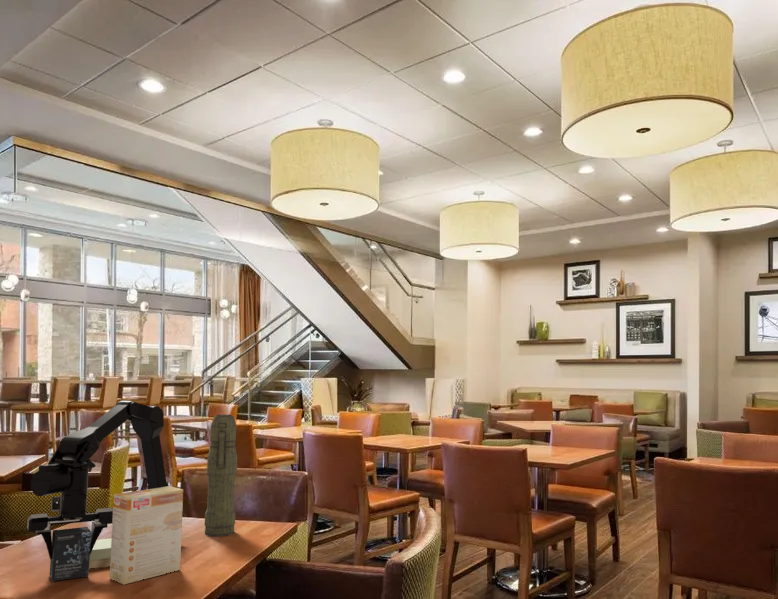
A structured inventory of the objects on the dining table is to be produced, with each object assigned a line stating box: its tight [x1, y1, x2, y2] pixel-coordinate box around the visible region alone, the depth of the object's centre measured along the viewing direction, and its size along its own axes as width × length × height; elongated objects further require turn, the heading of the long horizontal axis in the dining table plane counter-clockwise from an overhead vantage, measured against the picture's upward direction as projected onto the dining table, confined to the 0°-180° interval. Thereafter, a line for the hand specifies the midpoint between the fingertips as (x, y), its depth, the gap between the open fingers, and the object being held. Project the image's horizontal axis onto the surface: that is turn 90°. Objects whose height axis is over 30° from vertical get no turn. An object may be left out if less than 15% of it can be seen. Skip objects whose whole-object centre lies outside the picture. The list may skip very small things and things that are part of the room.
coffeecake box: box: [109, 485, 184, 586], centre depth 160 cm, size 15×7×20 cm, turn 141°
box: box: [49, 526, 91, 582], centre depth 157 cm, size 8×6×11 cm
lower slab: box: [89, 558, 111, 570], centre depth 170 cm, size 12×12×2 cm
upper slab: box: [89, 537, 112, 561], centre depth 170 cm, size 10×10×2 cm
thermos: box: [204, 414, 238, 537], centre depth 201 cm, size 9×12×35 cm
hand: (70, 556), depth 157 cm, fingers closed on box, 8 cm apart
